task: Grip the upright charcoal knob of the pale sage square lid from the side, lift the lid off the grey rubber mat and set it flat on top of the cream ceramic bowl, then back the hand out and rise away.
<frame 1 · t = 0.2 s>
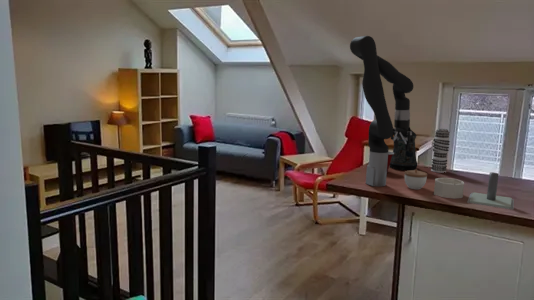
hand: (401, 149, 220), 18 cm above the table, tool pointing down, fingers open, 8 cm apart
bowl: (447, 195, 201), on the table
lid: (490, 200, 192), resting on mat
mat: (490, 201, 192), on the table
beer stein: (401, 167, 260), on the table
plastic cup: (382, 171, 248), on the table
lidded jar: (414, 188, 214), on the table
decorative candle: (438, 171, 252), on the table
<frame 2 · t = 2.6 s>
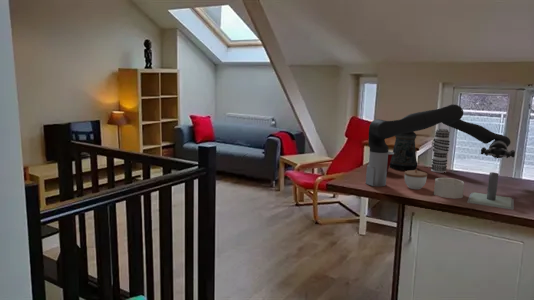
hand: (497, 154, 198), 20 cm above the table, tool horizontal, fingers open, 8 cm apart
nothing on the table moved.
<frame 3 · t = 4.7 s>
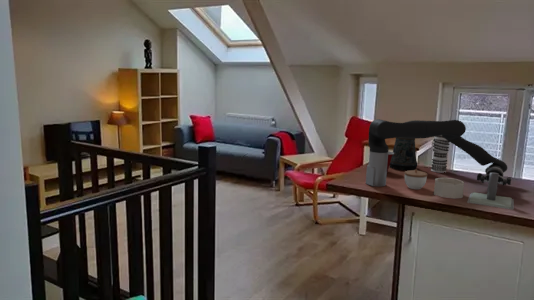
hand: (493, 182, 197), 8 cm above the table, tool horizontal, fingers open, 8 cm apart
nothing on the table moved.
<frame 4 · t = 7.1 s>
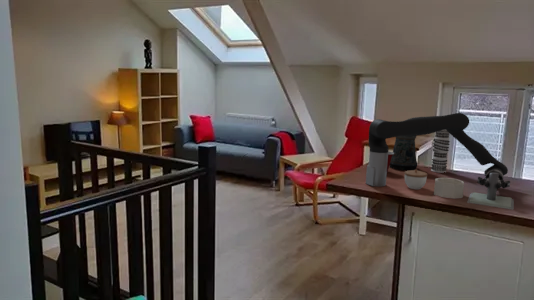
hand: (492, 186, 189), 8 cm above the table, tool horizontal, fingers closed on lid, 3 cm apart
lid: (490, 200, 192), resting on mat, touching gripper
everything else where it was.
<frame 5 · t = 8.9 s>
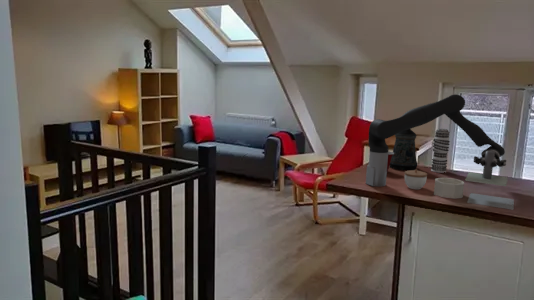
hand: (488, 164, 188), 18 cm above the table, tool horizontal, fingers closed on lid, 3 cm apart
lid: (486, 179, 192), point 10 cm above the table, touching gripper
everything else where it was.
when the fingers open (16 cm above the table, at t = 10.8 s): lid drops 1 cm, resting on bowl.
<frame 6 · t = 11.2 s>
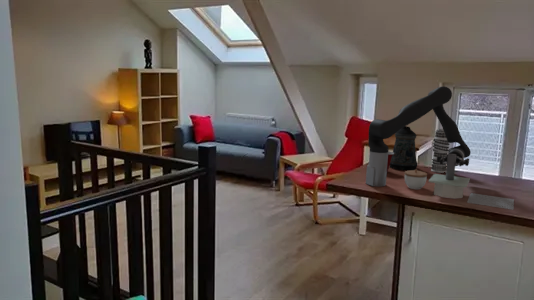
hand: (450, 163, 197), 16 cm above the table, tool horizontal, fingers open, 7 cm apart
lid: (449, 181, 200), point 7 cm above the table, touching bowl
everything else where it was.
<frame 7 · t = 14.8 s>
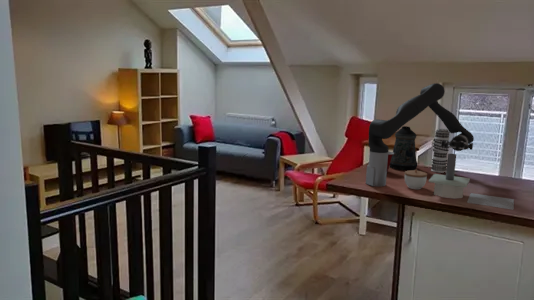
hand: (455, 146, 207), 22 cm above the table, tool horizontal, fingers open, 8 cm apart
nothing on the table moved.
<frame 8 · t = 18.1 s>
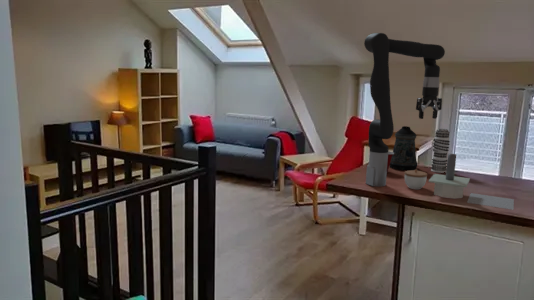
hand: (427, 118, 215), 34 cm above the table, tool pointing down, fingers open, 8 cm apart
nothing on the table moved.
at the end: lid 0.1 cm off-centre on the bowl, point 7.0 cm above the bowl's base; lid tilted 0°; lid touching bowl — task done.
